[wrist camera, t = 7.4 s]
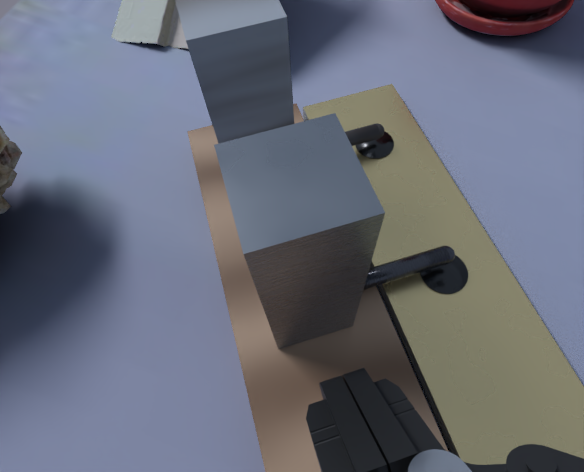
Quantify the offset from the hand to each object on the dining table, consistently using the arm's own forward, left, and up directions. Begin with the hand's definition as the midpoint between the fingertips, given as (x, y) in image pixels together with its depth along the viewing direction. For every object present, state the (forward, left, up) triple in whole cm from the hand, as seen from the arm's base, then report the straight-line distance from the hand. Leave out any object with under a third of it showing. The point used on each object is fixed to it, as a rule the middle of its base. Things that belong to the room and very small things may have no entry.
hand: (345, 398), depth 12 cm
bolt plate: (+9, -7, -8) cm, 14 cm away
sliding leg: (+6, -3, -7) cm, 9 cm away
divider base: (+8, -1, -8) cm, 11 cm away
